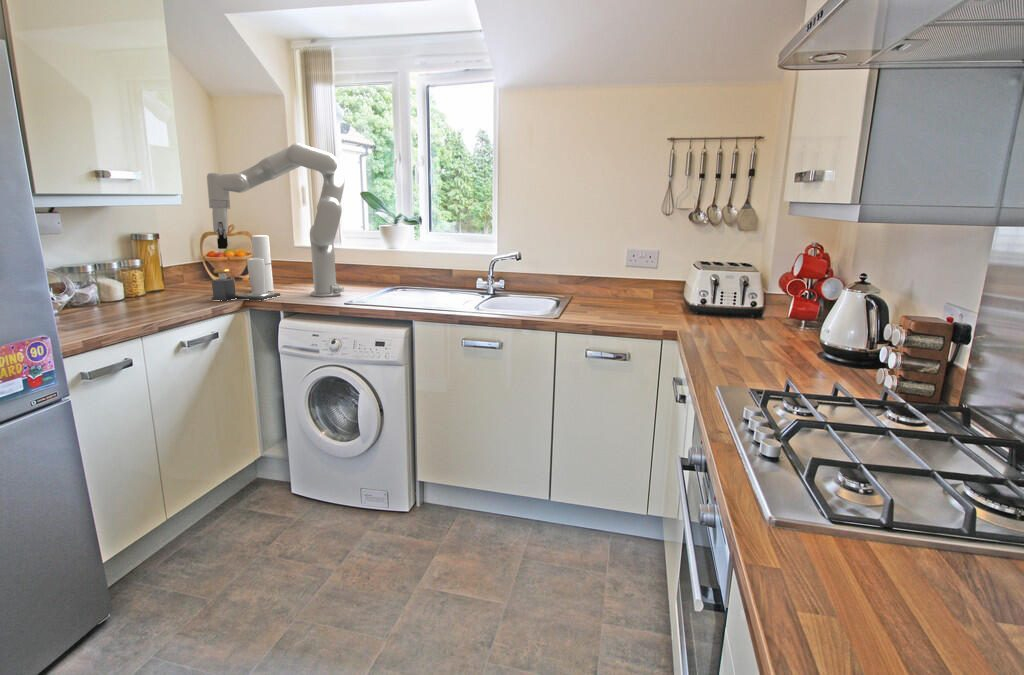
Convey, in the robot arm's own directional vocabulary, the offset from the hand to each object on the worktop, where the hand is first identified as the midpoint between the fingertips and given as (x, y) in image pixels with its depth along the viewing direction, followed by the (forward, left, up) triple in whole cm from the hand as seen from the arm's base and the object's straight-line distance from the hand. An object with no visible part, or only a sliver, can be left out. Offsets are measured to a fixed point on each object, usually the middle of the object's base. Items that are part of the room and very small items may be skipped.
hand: (223, 247), depth 235 cm
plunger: (+1, +1, -17) cm, 17 cm away
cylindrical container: (0, -23, -22) cm, 32 cm away
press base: (-5, -4, -22) cm, 23 cm away
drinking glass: (-9, -7, -20) cm, 23 cm away
